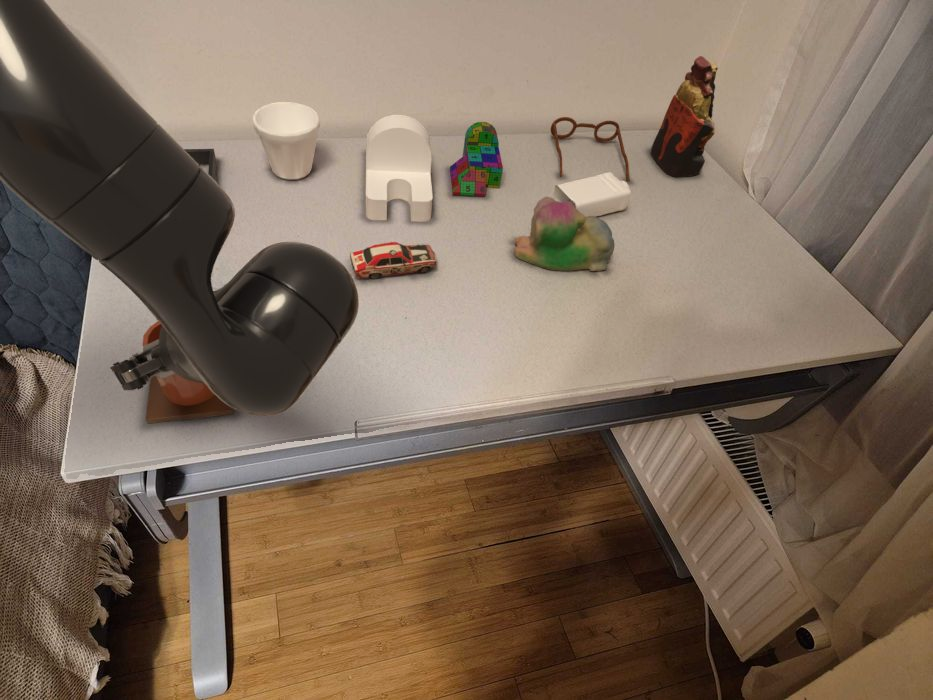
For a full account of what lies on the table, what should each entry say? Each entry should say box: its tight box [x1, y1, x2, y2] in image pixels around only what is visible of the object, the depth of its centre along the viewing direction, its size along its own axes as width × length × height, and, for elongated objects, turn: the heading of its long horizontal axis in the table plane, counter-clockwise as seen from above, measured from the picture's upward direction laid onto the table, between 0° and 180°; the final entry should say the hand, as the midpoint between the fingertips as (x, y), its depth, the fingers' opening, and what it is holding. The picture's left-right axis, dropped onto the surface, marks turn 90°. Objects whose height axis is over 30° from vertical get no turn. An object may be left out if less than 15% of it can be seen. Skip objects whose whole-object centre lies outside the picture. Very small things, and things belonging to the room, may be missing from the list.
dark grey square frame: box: [183, 148, 218, 182], centre depth 93 cm, size 12×12×2 cm
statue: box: [650, 55, 719, 178], centre depth 109 cm, size 12×8×20 cm, turn 12°
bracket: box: [365, 114, 434, 223], centre depth 97 cm, size 19×10×11 cm, turn 5°
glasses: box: [550, 116, 631, 182], centre depth 111 cm, size 13×13×5 cm
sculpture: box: [513, 196, 616, 272], centre depth 90 cm, size 15×8×10 cm, turn 105°
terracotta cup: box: [141, 320, 215, 406], centre depth 67 cm, size 6×6×8 cm
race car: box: [349, 241, 438, 280], centre depth 87 cm, size 5×12×5 cm, turn 102°
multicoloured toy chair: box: [449, 121, 504, 198], centre depth 103 cm, size 12×8×7 cm
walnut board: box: [144, 376, 235, 424], centre depth 71 cm, size 9×9×1 cm
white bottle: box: [550, 171, 632, 218], centre depth 102 cm, size 6×13×4 cm, turn 118°
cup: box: [251, 101, 321, 181], centre depth 97 cm, size 10×10×9 cm
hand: (182, 345), depth 64 cm, fingers open, 8 cm apart
